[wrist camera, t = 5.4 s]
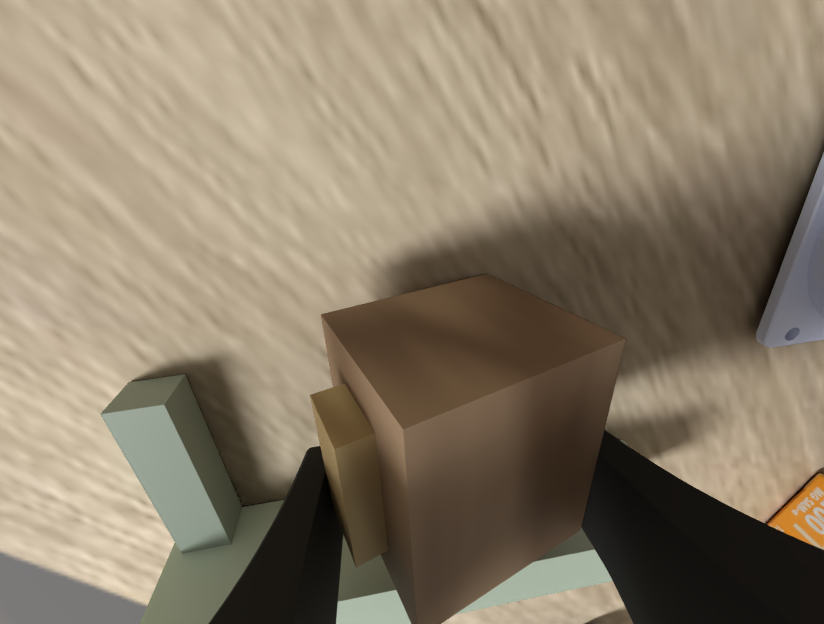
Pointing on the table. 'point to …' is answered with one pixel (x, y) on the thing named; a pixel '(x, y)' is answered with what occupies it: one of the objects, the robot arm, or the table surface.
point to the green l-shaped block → (265, 522)
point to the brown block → (461, 434)
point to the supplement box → (804, 514)
